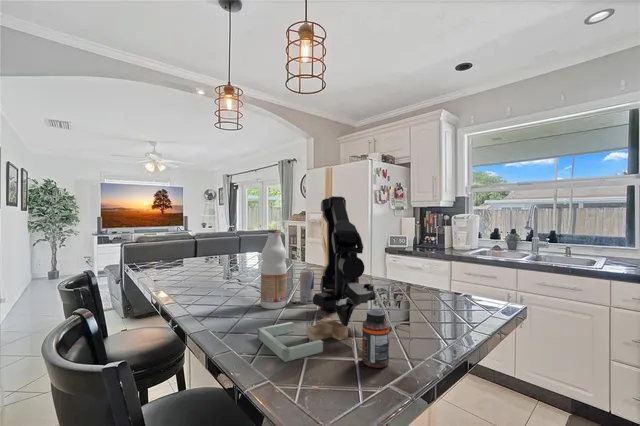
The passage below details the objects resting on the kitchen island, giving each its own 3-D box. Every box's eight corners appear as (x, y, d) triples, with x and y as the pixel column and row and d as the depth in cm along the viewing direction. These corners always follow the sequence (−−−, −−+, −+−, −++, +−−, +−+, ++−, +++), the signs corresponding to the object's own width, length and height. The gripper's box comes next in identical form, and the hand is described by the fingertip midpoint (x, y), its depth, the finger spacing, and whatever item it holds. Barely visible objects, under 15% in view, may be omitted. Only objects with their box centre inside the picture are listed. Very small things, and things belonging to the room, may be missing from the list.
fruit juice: (260, 310, 107) (262, 230, 108) (260, 302, 116) (261, 229, 117) (287, 308, 109) (288, 230, 110) (284, 301, 119) (285, 229, 119)
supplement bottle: (359, 357, 72) (359, 308, 72) (384, 356, 72) (384, 308, 72) (365, 369, 66) (365, 316, 66) (392, 368, 66) (392, 316, 66)
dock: (291, 330, 88) (291, 321, 88) (322, 351, 74) (322, 341, 74) (257, 337, 82) (257, 328, 82) (284, 362, 69) (284, 350, 69)
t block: (328, 328, 91) (329, 317, 91) (347, 338, 83) (347, 327, 83) (302, 334, 86) (302, 323, 86) (319, 345, 78) (319, 333, 78)
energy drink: (315, 301, 120) (315, 270, 120) (310, 304, 115) (311, 272, 115) (302, 299, 122) (303, 269, 122) (297, 303, 117) (297, 271, 117)
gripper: (335, 280, 76) (334, 343, 76) (389, 273, 87) (388, 329, 86) (312, 273, 86) (311, 329, 85) (362, 268, 96) (362, 318, 96)
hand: (344, 326), depth 88 cm, fingers closed
